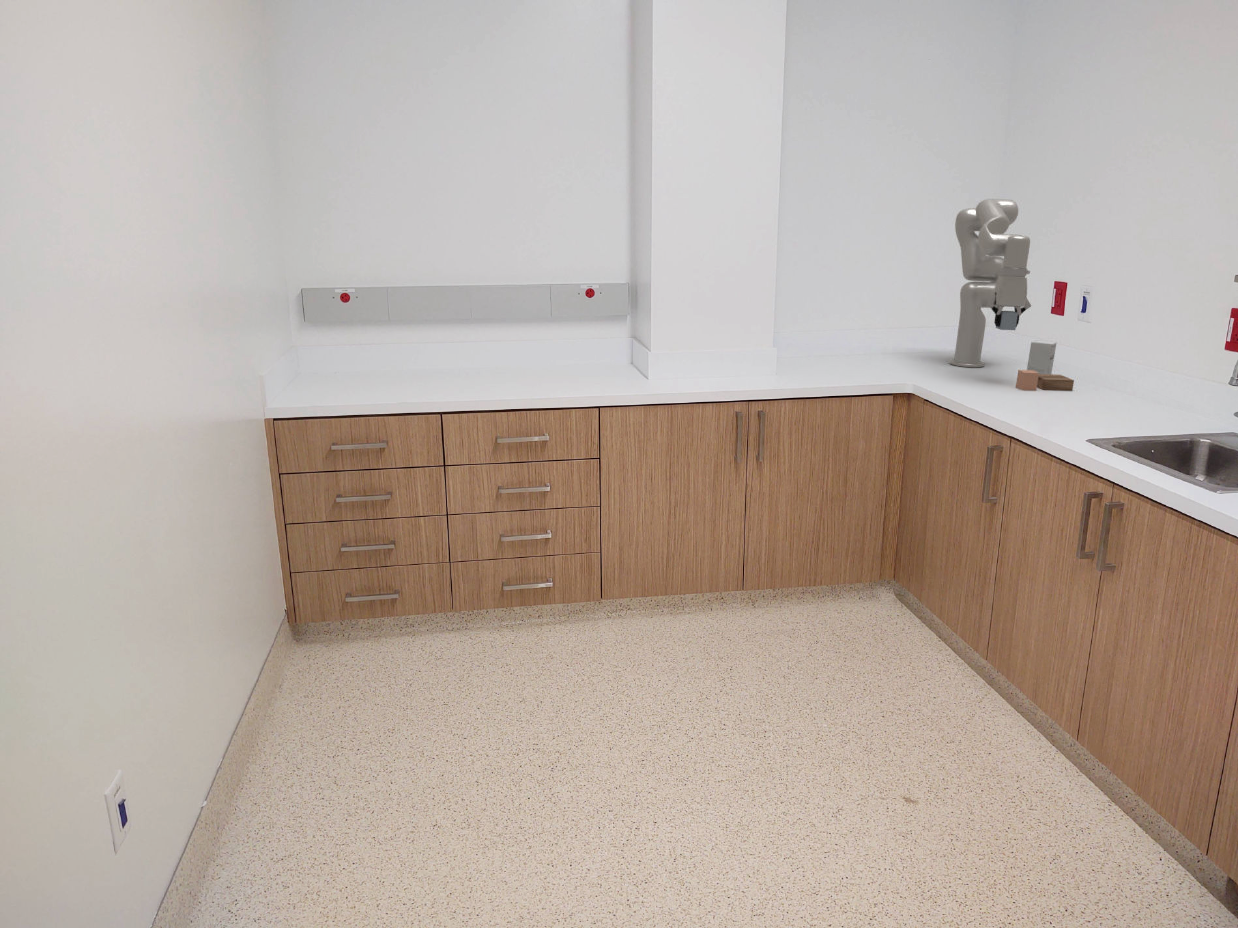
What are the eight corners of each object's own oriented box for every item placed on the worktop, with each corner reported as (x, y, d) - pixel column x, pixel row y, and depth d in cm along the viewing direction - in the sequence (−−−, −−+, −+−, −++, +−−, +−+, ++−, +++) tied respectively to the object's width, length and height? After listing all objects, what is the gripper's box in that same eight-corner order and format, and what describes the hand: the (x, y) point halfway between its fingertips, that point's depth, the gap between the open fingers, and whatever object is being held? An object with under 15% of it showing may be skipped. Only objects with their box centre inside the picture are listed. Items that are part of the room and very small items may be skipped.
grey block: (995, 327, 321) (998, 310, 319) (1010, 328, 321) (1012, 311, 319) (1000, 329, 316) (1003, 312, 315) (1015, 330, 316) (1017, 312, 314)
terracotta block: (1015, 387, 314) (1018, 369, 313) (1030, 387, 314) (1033, 370, 312) (1021, 390, 309) (1023, 372, 308) (1036, 390, 309) (1039, 373, 308)
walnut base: (1029, 385, 320) (1031, 373, 319) (1058, 386, 320) (1060, 374, 319) (1042, 391, 311) (1044, 379, 309) (1072, 391, 311) (1074, 380, 310)
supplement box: (1046, 379, 330) (1052, 344, 327) (1025, 376, 335) (1030, 341, 331) (1051, 376, 336) (1057, 342, 332) (1030, 373, 340) (1035, 339, 337)
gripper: (1034, 273, 317) (1026, 325, 322) (984, 271, 317) (977, 324, 322) (1043, 274, 309) (1034, 328, 314) (992, 273, 310) (984, 327, 315)
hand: (1005, 325), depth 318 cm, fingers closed on grey block, 4 cm apart
